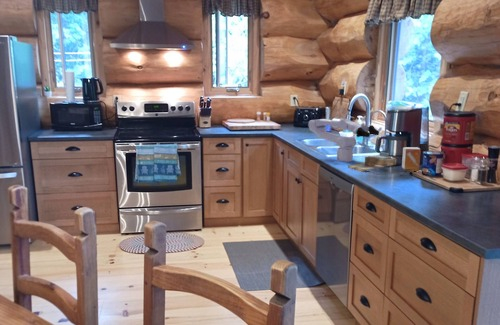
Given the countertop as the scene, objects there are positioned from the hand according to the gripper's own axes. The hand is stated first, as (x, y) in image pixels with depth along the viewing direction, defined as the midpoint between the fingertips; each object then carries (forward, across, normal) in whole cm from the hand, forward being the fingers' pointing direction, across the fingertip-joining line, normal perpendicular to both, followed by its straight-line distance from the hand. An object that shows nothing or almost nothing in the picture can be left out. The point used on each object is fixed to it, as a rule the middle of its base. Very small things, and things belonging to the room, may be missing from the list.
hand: (373, 134), depth 253 cm
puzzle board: (+2, +1, +20) cm, 20 cm away
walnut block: (+2, -1, +20) cm, 20 cm away
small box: (+19, +12, +18) cm, 29 cm away
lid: (+1, +8, +15) cm, 17 cm away
